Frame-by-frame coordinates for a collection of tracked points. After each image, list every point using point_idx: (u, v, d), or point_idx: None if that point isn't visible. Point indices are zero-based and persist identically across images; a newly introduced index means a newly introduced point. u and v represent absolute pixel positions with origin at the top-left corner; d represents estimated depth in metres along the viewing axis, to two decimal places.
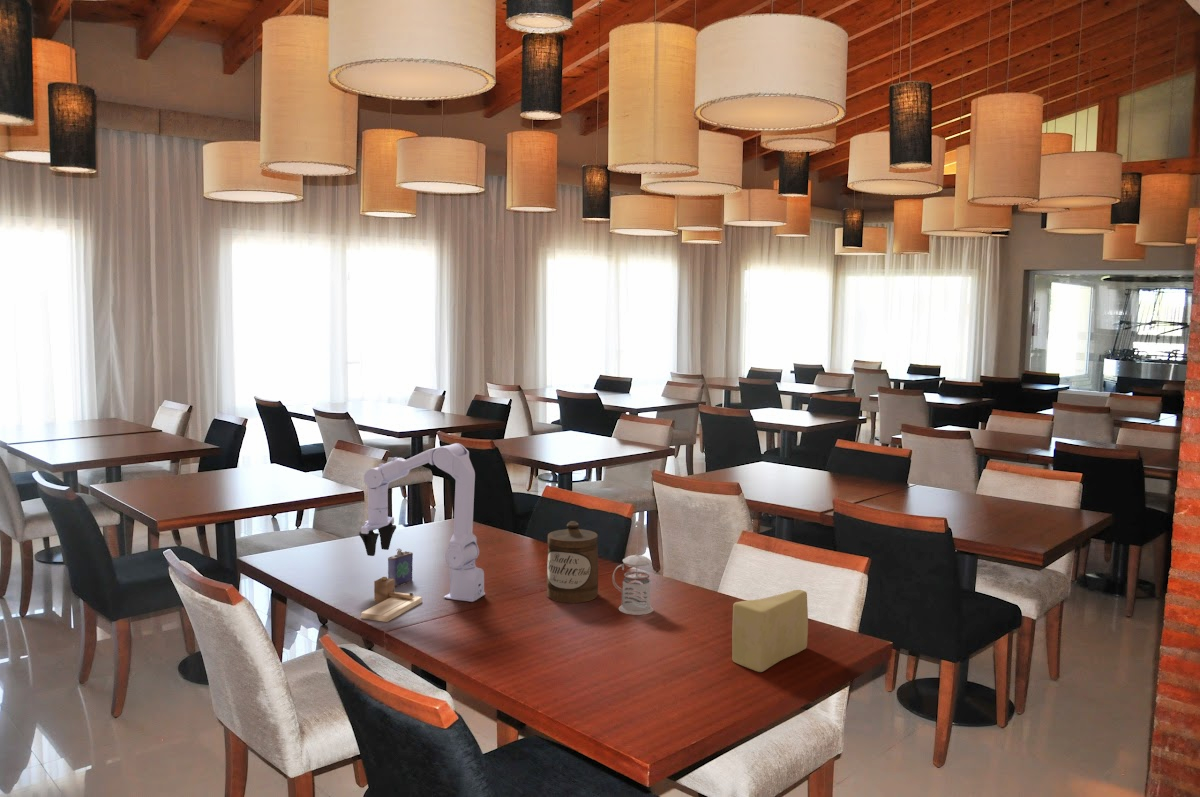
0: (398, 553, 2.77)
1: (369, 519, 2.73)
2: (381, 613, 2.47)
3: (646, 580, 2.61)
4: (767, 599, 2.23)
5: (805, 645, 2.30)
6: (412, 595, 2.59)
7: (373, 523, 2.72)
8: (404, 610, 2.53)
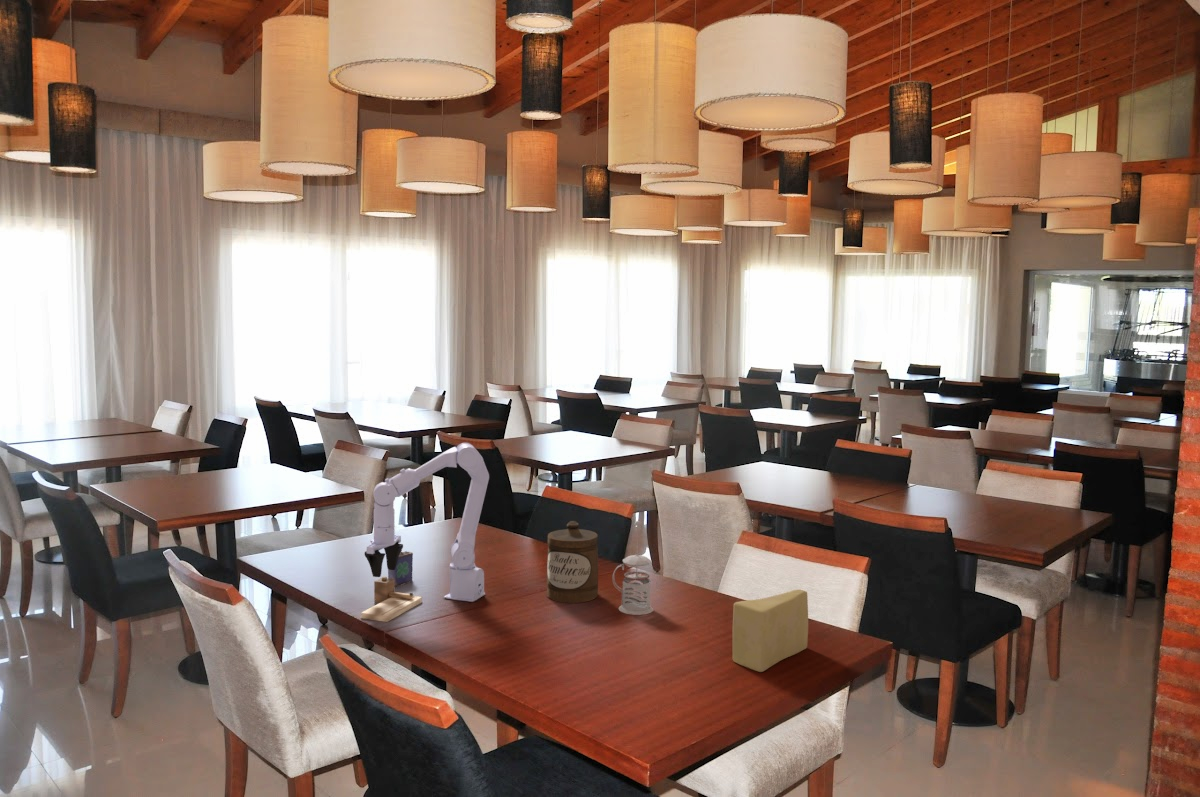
0: None
1: (375, 538, 2.59)
2: (381, 613, 2.47)
3: (646, 580, 2.61)
4: (767, 599, 2.23)
5: (805, 645, 2.30)
6: (412, 595, 2.59)
7: (379, 542, 2.58)
8: (404, 610, 2.53)
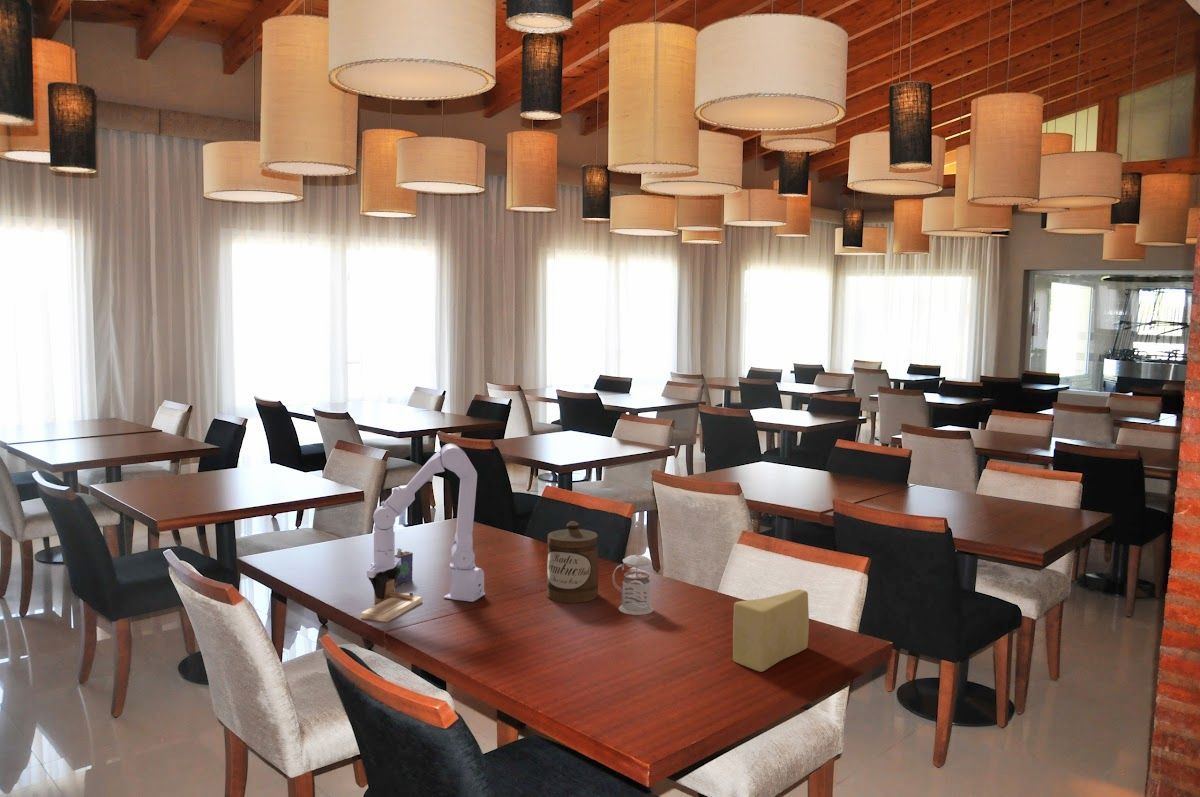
0: (398, 553, 2.77)
1: (375, 561, 2.59)
2: (381, 613, 2.47)
3: (646, 580, 2.61)
4: (768, 599, 2.23)
5: (806, 645, 2.30)
6: (412, 595, 2.59)
7: (379, 566, 2.58)
8: (404, 610, 2.53)
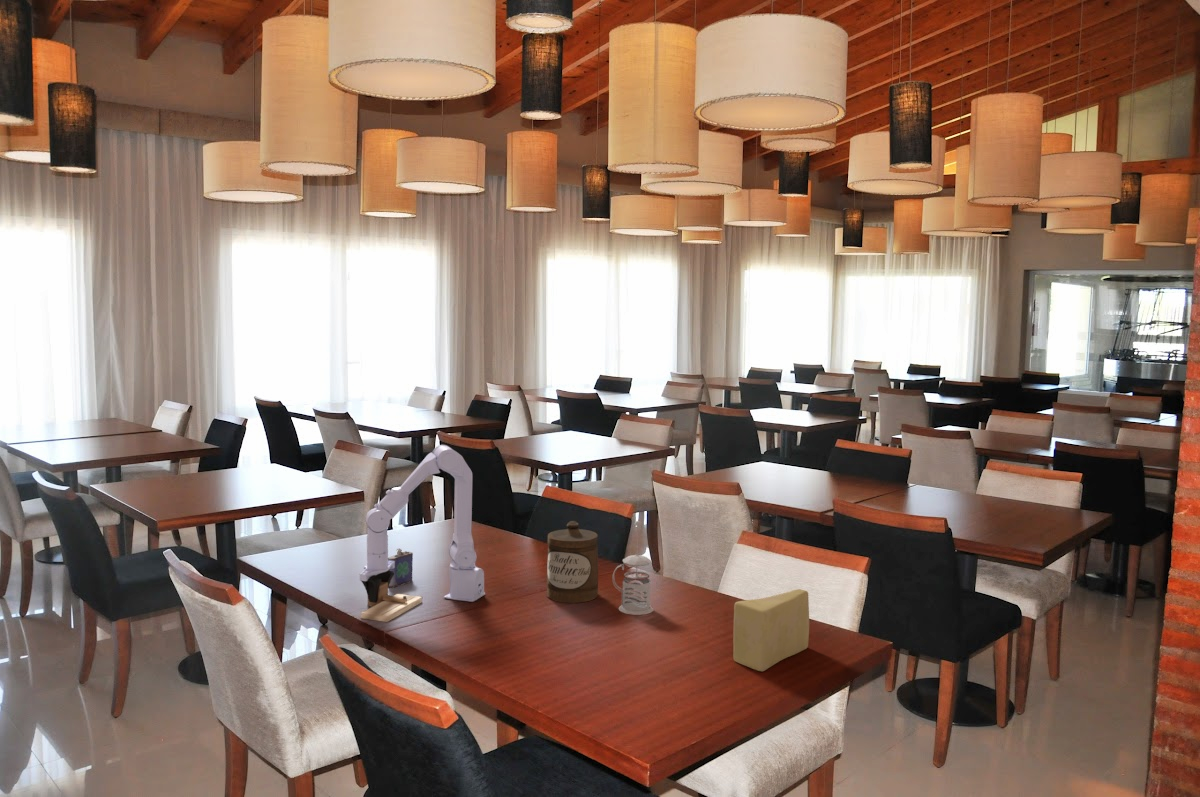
0: (398, 553, 2.77)
1: (368, 565, 2.56)
2: (381, 613, 2.47)
3: (646, 580, 2.61)
4: (768, 599, 2.23)
5: (806, 645, 2.30)
6: (406, 598, 2.56)
7: (372, 569, 2.55)
8: (404, 610, 2.53)
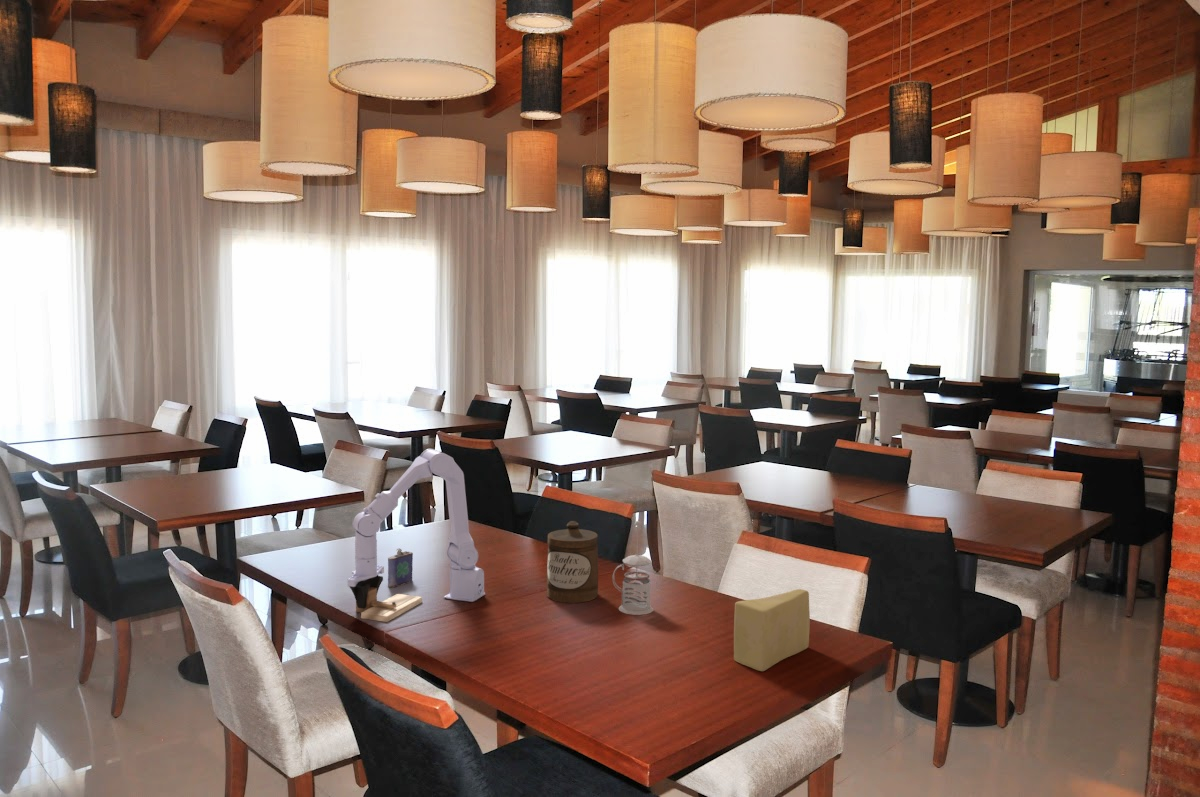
0: (398, 553, 2.77)
1: (356, 570, 2.51)
2: (381, 613, 2.47)
3: (646, 580, 2.61)
4: (769, 599, 2.23)
5: (807, 644, 2.30)
6: (395, 604, 2.51)
7: (361, 574, 2.50)
8: (404, 610, 2.53)
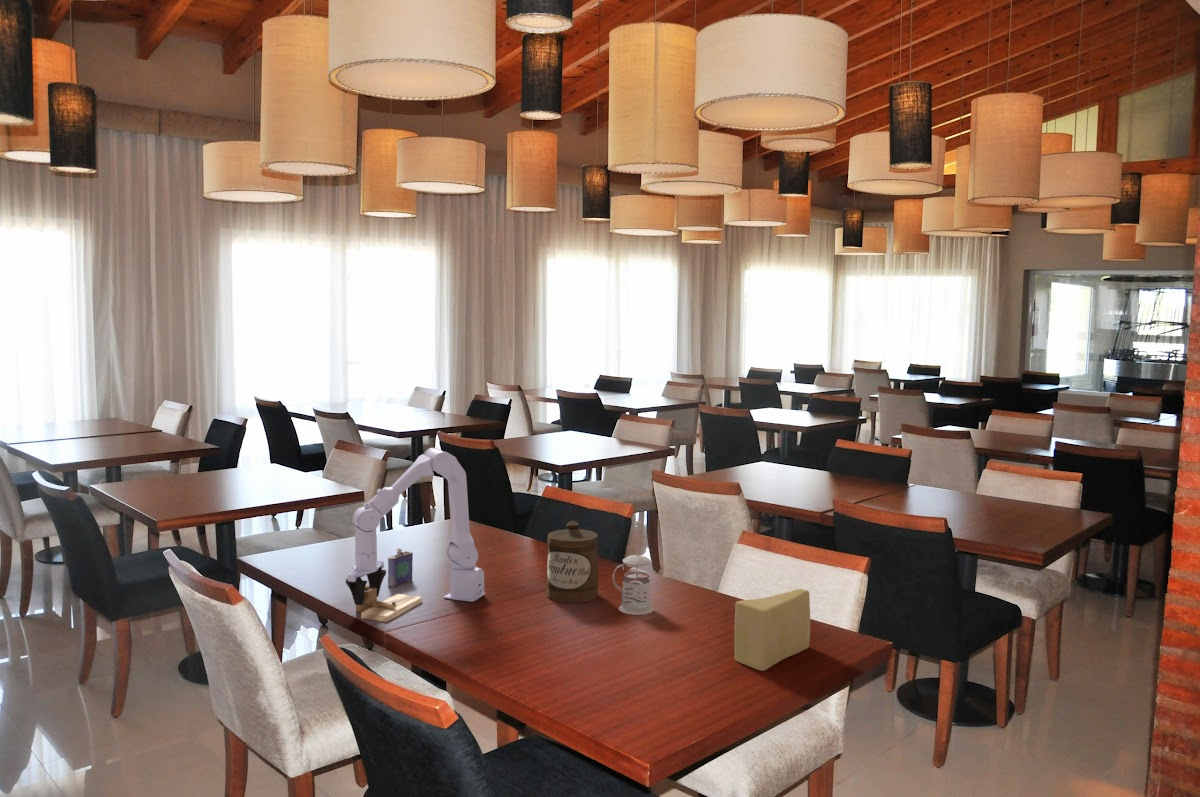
0: (398, 553, 2.77)
1: (356, 565, 2.51)
2: (381, 613, 2.47)
3: (646, 580, 2.61)
4: (769, 598, 2.23)
5: (807, 644, 2.30)
6: (395, 604, 2.51)
7: (361, 569, 2.50)
8: (404, 610, 2.53)
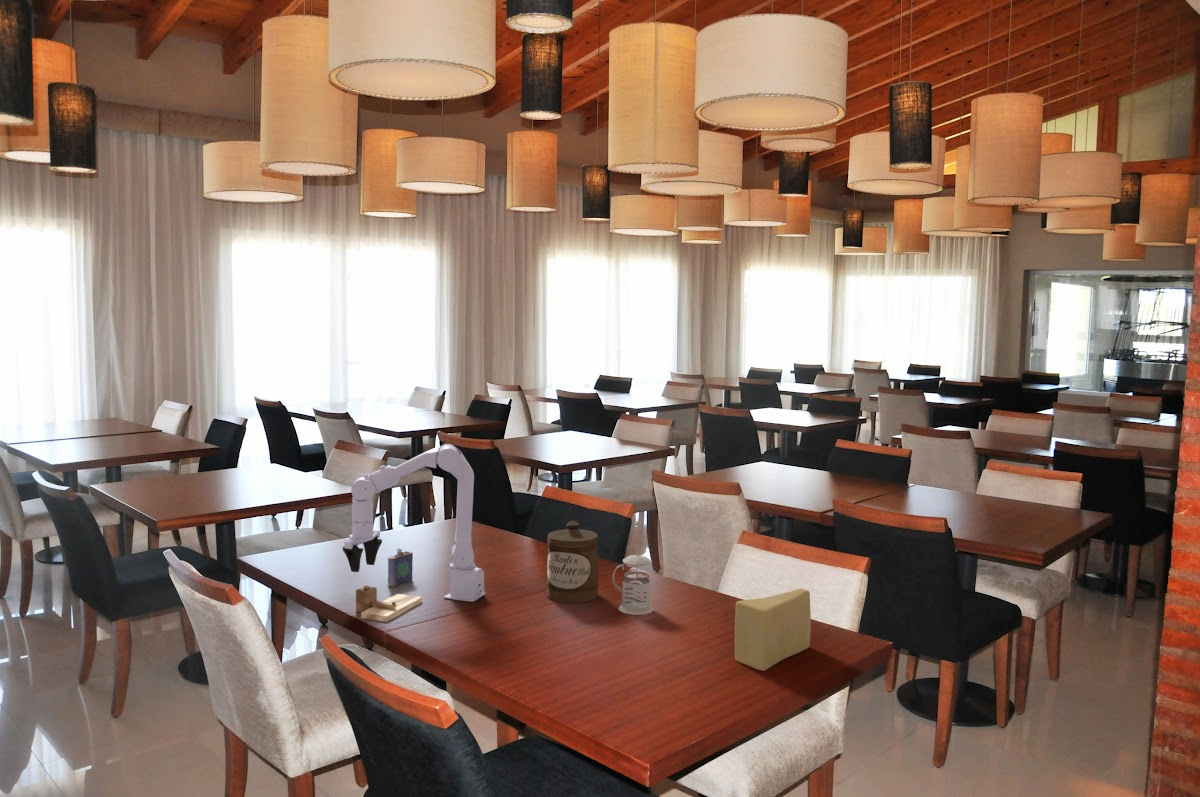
0: (398, 553, 2.77)
1: (353, 533, 2.58)
2: (381, 613, 2.47)
3: (646, 580, 2.61)
4: (770, 598, 2.23)
5: (808, 644, 2.30)
6: (395, 604, 2.51)
7: (357, 537, 2.58)
8: (404, 610, 2.53)
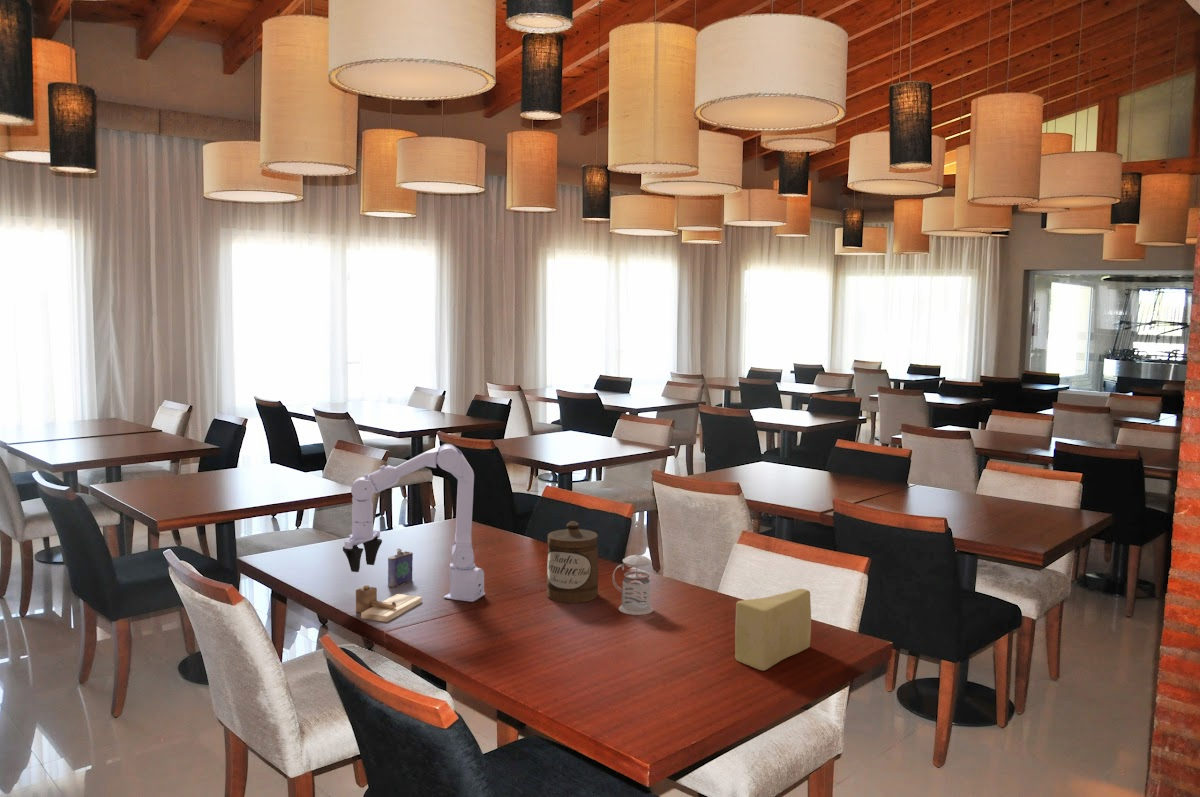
0: (398, 553, 2.77)
1: (353, 533, 2.58)
2: (381, 613, 2.47)
3: (646, 580, 2.61)
4: (770, 598, 2.24)
5: (808, 644, 2.30)
6: (395, 604, 2.51)
7: (357, 537, 2.58)
8: (404, 610, 2.53)
